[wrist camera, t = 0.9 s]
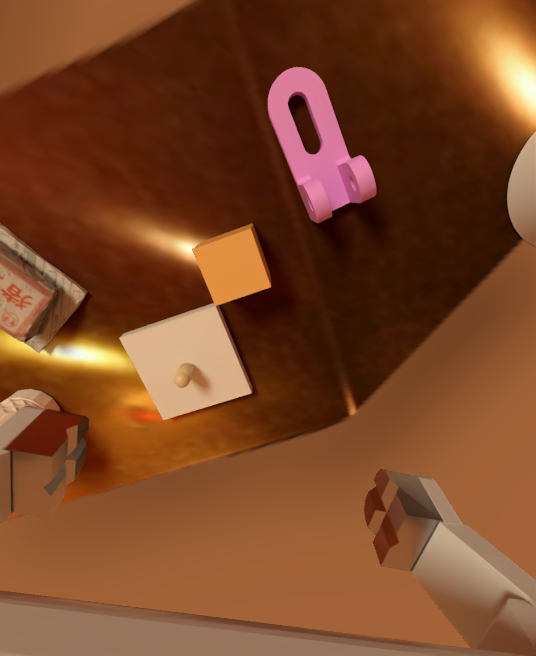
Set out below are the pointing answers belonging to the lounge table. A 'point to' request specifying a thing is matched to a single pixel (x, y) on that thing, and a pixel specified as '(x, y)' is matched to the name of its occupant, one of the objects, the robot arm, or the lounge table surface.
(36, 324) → the packaged product
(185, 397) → the pin plate
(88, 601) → the robot arm
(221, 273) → the solid orange cube
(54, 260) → the lounge table surface
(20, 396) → the white cup
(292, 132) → the bracket
